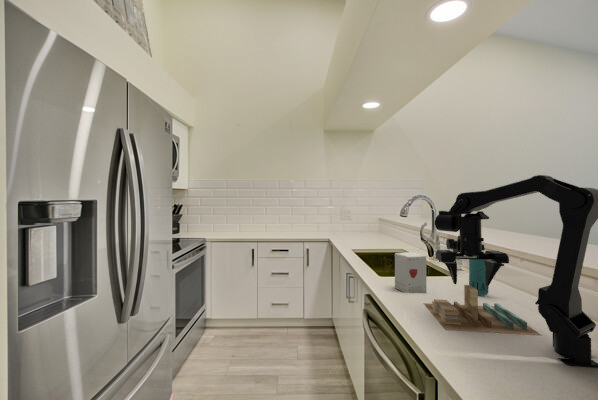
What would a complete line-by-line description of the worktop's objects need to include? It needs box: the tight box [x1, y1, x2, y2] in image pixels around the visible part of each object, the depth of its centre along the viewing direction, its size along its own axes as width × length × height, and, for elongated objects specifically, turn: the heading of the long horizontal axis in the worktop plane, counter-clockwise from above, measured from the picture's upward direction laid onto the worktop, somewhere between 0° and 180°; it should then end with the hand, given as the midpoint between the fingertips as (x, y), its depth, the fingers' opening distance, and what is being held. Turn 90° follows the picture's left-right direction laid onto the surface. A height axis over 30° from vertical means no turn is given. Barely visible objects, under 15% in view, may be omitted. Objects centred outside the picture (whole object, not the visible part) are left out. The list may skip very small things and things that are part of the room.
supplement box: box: [394, 251, 427, 294], centre depth 112 cm, size 9×9×15 cm
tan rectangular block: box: [463, 284, 479, 319], centre depth 84 cm, size 5×2×9 cm, turn 172°
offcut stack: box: [431, 298, 461, 325], centre depth 85 cm, size 12×4×4 cm, turn 172°
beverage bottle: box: [468, 244, 490, 296], centre depth 105 cm, size 6×7×20 cm
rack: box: [423, 301, 543, 336], centre depth 84 cm, size 20×24×3 cm
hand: (471, 284), depth 84 cm, fingers open, 9 cm apart
